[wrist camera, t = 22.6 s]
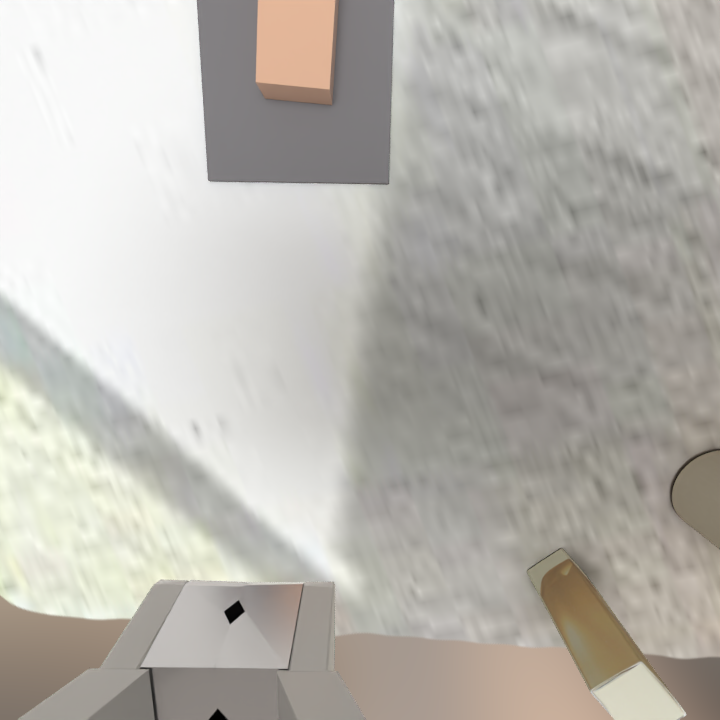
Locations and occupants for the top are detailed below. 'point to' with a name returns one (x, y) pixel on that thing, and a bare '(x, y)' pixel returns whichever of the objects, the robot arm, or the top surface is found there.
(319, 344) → the top surface
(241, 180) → the mat
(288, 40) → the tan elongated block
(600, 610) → the skincare box
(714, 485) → the travel mug
